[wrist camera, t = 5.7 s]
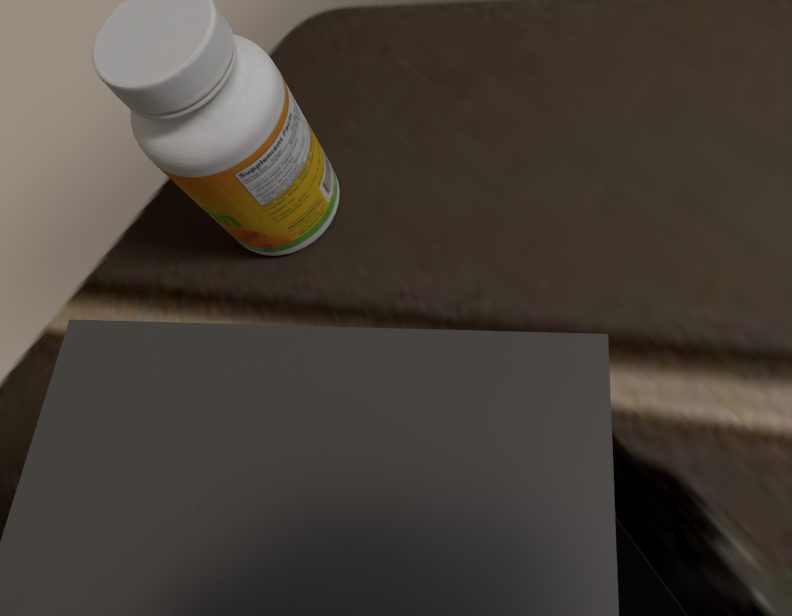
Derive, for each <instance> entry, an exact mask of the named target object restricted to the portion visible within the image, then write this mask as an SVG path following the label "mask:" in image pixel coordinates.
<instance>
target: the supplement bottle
mask: <svg viewBox="0 0 792 616" xmlns="http://www.w3.org/2000/svg"><path fill="white" fill-rule="evenodd" d="M92 58H93V64H94V67H95V70H96V72H97V74H98V75H99V77H100V78H101V79H102V81H103V82H104V83H105V84H106V85H107V86H108V87H109V88H110V89H111V90H112V91H113V92H114V94H116V96H117V97H118V98H119V99H120V100H121V101H122V102H123V103H125V104H126V105H127V106H128V107H129V109H131V125H132V129H133V133H134V136H135V138H136V140H137V142H138V144H139V146H140V148H141V149H142V150H143V152H144V153H145V154H146V155H147V156H148V157H149V158H150V159H151V160H152V161H153V163H154V164H155V165H156V166H157V167H159V168H160V169H161V170H162V171H163V172H164V173H165V174H166V175H167V176H168V177H169V178H170V179H171V180H173V181H174V182H175V183H176V184H177V185H178V186H179V187H180V188H181V189H182V190H183V191H184V192H185V193H186V194H187V195H188V196H190V197H191V198H192V199H193V200H194V201H195V202H196V203H197V204H198V205H199V206H200V207H201V208H202V209H203V210H205V211H206V212H207V213H208V214H209V215H210V216H211V217H212V218H213V219H214V220H215V221H216V222H218V223H219V224H220V225H221V226H222V227H223V228H224V229H225V230H226V231H227V232H228V233H229V234H230V235H231V236H233V237H234V238H235V239H236V240H237V241H238V242H239V243H240V244H242V245H243V246H244V247H246V248H247V249H249V250H251V251H253V252H256V253H259V254H263V255H272V256H276V255H285V254H289V253H293V252H296V251H298V250H301V249H303V248H305V247H306V246H308V245H309V244H311V243H312V242H314V241H315V240H316V239H317V238H318V237H320V236H321V235H322V233H323V232H324V231H325V230H326V229H327V227H328V226H329V225H330V223H331V221H332V220H333V218H334V215H335V213H336V210H337V207H338V202H339V184H338V180H337V177H336V175H335V172H334V170H333V168H332V166H331V164H330V162H329V160H328V158H327V156H326V155H325V153H324V151H323V149H322V148H321V146H320V144H319V142H318V141H317V139H316V137H315V135H314V133H313V131H312V130H311V128H310V126H309V124H308V123H307V121H306V119H305V117H304V115H303V114H302V112H301V110H300V108H299V106H298V105H297V103H296V101H295V99H294V97H293V95H292V94H291V92H290V90H289V88H288V86H287V85H286V83H285V81H284V79H283V77H282V75H281V73H280V72H279V70H278V69H277V67H276V66H275V64H274V63H273V61H272V60H271V58H270V57H269V56H268V55H267V54H266V52H265V51H263V50H262V49H261V48H260V47H259V46H258V45H256V44H255V43H253V42H252V41H250V40H248V39H245V38H243V37H240V36H237V35H233V33H232V30H231V28H230V26H229V24H228V23H227V22H226V20H225V19H224V18H223V16H222V14H221V13H220V11H219V10H218V8H217V7H216V5H215V3H214V2H213V0H125V1H124V2H122V3H121V4H120V5H119V6H118V7H117V8H116V9H115V10H114V11H113V12H112V13H111V14H110V15H109V16H108V18H107V19H106V20H105V22H104V23H103V25H102V26H101V28H100V29H99V32H98V33H97V36H96V38H95V42H94V45H93V53H92Z"/></svg>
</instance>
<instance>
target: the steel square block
mask: <svg viewBox="0 0 792 616" xmlns="http://www.w3.org/2000/svg"><path fill="white" fill-rule="evenodd" d="M0 616H619V601H618V576H617V551H616V525H615V500H614V475H613V449H612V424H611V399H610V373H609V348H608V334H582V333H545V332H507V331H470V330H433V329H395V328H358V327H321V326H283V325H246V324H209V323H171V322H134V321H97V320H69V323H68V327H67V330H66V333H65V336H64V339H63V343H62V346H61V349H60V352H59V355H58V359H57V362H56V365H55V368H54V371H53V375H52V378H51V381H50V384H49V387H48V391H47V394H46V397H45V400H44V404H43V407H42V410H41V413H40V416H39V420H38V423H37V426H36V429H35V432H34V436H33V439H32V442H31V445H30V448H29V452H28V455H27V458H26V461H25V465H24V468H23V471H22V474H21V477H20V481H19V484H18V487H17V490H16V493H15V497H14V500H13V503H12V506H11V509H10V513H9V516H8V519H7V522H6V525H5V529H4V532H3V535H2V538H1V542H0Z"/></svg>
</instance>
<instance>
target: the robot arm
mask: <svg viewBox="0 0 792 616" xmlns="http://www.w3.org/2000/svg"><path fill="white" fill-rule="evenodd" d="M615 525H616V551H617V576H618V601H619V616H687V614H686V613H685V612H684V610H683V609H682V608H681V606H680V605H679V603H678V602H677V601H676V599H675V598H674V597H673V595H672V594H671V592H670V591H669V590H668V588H667V587H666V586H665V584H664V583H663V581H662V580H661V579H660V577H659V576H658V575H657V573H656V572H655V570H654V569H653V568H652V566H651V565H650V564H649V562H648V561H647V559H646V558H645V557H644V555H643V554H642V553H641V551H640V550H639V548H638V547H637V546H636V544H635V543H634V542H633V540H632V539H631V537H630V536H629V535H628V533H627V532H626V531H625V529H624V528H623V526H622V525H621V524H620V522H619V521H618V520H617V518H616V517H615Z"/></svg>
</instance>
